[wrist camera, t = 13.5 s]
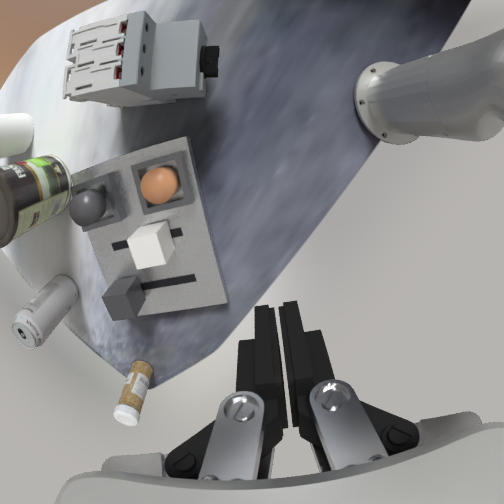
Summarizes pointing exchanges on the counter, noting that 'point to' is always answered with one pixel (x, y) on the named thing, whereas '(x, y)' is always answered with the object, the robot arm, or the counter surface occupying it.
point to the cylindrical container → (15, 134)
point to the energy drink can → (45, 312)
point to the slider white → (151, 245)
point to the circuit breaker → (139, 61)
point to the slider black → (124, 298)
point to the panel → (145, 213)
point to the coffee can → (31, 194)
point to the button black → (87, 207)
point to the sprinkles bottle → (133, 394)
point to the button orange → (160, 184)
